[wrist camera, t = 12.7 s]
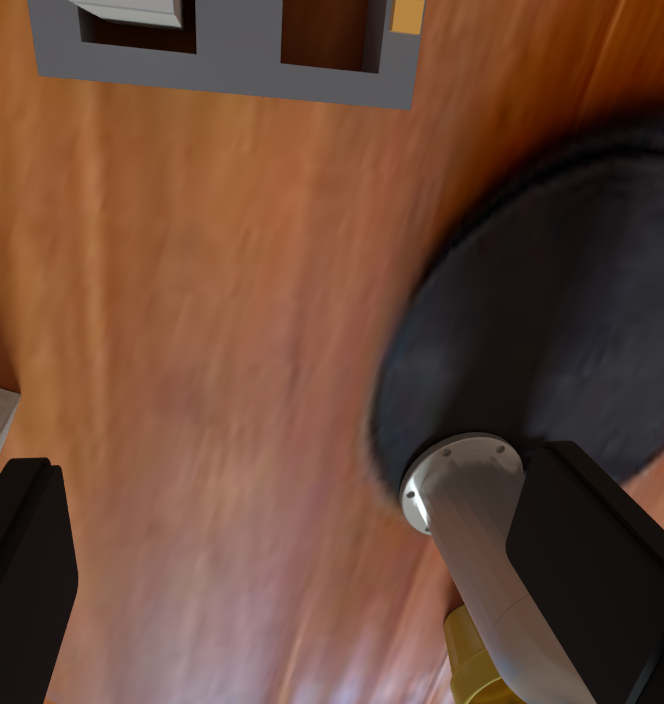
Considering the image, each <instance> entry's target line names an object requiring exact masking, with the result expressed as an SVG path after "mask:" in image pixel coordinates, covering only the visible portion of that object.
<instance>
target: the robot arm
mask: <svg viewBox="0 0 664 704" xmlns="http://www.w3.org/2000/svg"><path fill="white" fill-rule="evenodd" d="M399 501H400V505H401V509H402V511H403V513H404V515H405V518H406V519H407V521H408V522H409V523H410V524H411V525H412V526H413V527H414V528H415V529H417V530H418V531H420V532H422V533H424V534H428V535H432V537H433V539H434V541H435V543H436V545H437V548H438V550H439V552H440V554H441V556H442V558H443V560H444V562H445V564H446V566H447V568H448V570H449V572H450V574H451V576H452V579H453V581H454V583H455V585H456V587H457V589H458V591H459V593H460V595H461V597H462V599H463V601H464V603H465V605H466V608H467V610H468V612H469V614H470V616H471V618H472V620H473V622H474V624H475V626H476V628H477V630H478V632H479V634H480V636H481V639H482V641H483V643H484V645H485V647H486V649H487V651H488V653H489V655H490V657H491V659H492V661H493V663H494V665H495V667H496V669H497V671H498V673H499V674H500V676H501V678H502V679H503V680H504V682H505V683H506V684H507V685H508V687H509V688H510V689H511V690H512V691H513V692H514V693H515V694H516V695H517V696H519V697H520V698H521V699H522V700H524V701H525V702H526V703H528V704H664V529H663V528H662V527H661V526H660V525H658V524H657V523H656V522H655V521H654V520H653V519H652V518H651V517H650V516H649V515H648V514H647V513H646V512H645V511H644V510H643V509H642V508H641V507H640V506H639V505H638V504H637V503H636V502H635V501H634V500H633V499H632V498H631V497H630V496H629V495H628V494H627V493H626V492H625V491H624V490H623V489H622V488H621V487H620V486H619V485H618V484H617V483H616V482H615V481H614V480H613V479H612V478H611V477H610V476H609V475H608V474H607V473H606V472H605V471H603V470H602V469H601V468H600V467H599V466H598V465H597V464H596V463H595V462H594V461H593V460H592V459H591V458H590V457H589V456H588V455H587V454H586V453H585V452H584V451H583V450H582V449H581V448H580V447H579V446H578V445H577V444H576V443H574V442H573V441H547V442H543V443H542V444H541V445H540V448H539V449H536V450H535V451H534V453H533V455H532V458H531V462H530V465H529V468H528V471H527V475H526V477H525V475H524V474H523V465H522V462H521V459H520V456H519V455H518V454H517V452H516V451H515V449H514V448H513V447H512V446H511V445H510V444H509V443H508V442H507V441H506V440H504V439H502V438H501V437H499V436H496V435H493V434H490V433H483V432H471V433H464V434H459V435H455V436H452V437H450V438H447V439H444V440H442V441H440V442H439V443H437V444H435V445H433V446H431V447H430V448H429V449H427V450H426V451H425V452H423V453H422V454H421V455H420V456H419V457H418V458H417V459H416V460H415V461H414V462H413V464H412V465H411V466H410V468H409V469H408V470H407V472H406V474H405V476H404V478H403V480H402V483H401V487H400V492H399ZM77 588H78V569H77V563H76V557H75V550H74V544H73V538H72V531H71V525H70V519H69V512H68V506H67V499H66V493H65V487H64V480H63V474H62V469H61V467H60V466H59V465H53V466H51V463H50V461H49V459H48V458H46V457H45V458H14V459H10V460H9V461H8V462H7V464H6V465H5V467H4V468H3V470H2V472H1V473H0V704H43V702H44V699H45V696H46V692H47V689H48V686H49V683H50V679H51V676H52V673H53V670H54V666H55V663H56V660H57V656H58V653H59V650H60V647H61V643H62V640H63V637H64V634H65V630H66V627H67V624H68V620H69V617H70V614H71V611H72V607H73V604H74V601H75V598H76V594H77Z"/></svg>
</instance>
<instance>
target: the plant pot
mask: <svg viewBox="0 0 664 704" xmlns="http://www.w3.org/2000/svg"><path fill="white" fill-rule="evenodd" d="M444 635H445V640H446V645H447V650H448V655H449V661H450V666H451V671H452V678H451V682H450V688H451V692H452V695H453V698H454V701H455V703H456V704H528V703H526V702H525V701H524V700H522V699H521V698H520V697H519V696H517V695H516V694H515V693H514V692H513V691H512V690H511V689H510V688H509V687H508V685H507V684H506V683H505V682H504V680H503V679H502V678H501V676H500V674H499V673H498V671H497V669H496V667H495V665H494V663H493V661H492V659H491V657H490V655H489V653H488V651H487V649H486V647H485V645H484V643H483V641H482V639H481V636H480V634H479V632H478V630H477V628H476V626H475V624H474V622H473V620H472V618H471V616H470V614H469V612H468V610H467V608H466V605H465V604H464V605H461V606H460V607H458V608H456V609H455V610H454V611H452V612H451V613H450V614H449V616H448V617H447V618H446V620H445V623H444Z"/></svg>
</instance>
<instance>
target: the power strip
mask: <svg viewBox="0 0 664 704" xmlns="http://www.w3.org/2000/svg"><path fill="white" fill-rule="evenodd" d="M27 1H28V7H29V14H30V21H31V28H32V34H33V41H34V48H35V55H36V61H37V68H38V75H39V76H47V77H58V78H69V79H79V80H90V81H101V82H112V83H122V84H133V85H144V86H155V87H166V88H176V89H187V90H198V91H209V92H220V93H230V94H241V95H252V96H263V97H274V98H284V99H295V100H306V101H317V102H327V103H338V104H349V105H360V106H371V107H381V108H392V109H403V110H411V103H412V96H413V89H414V82H415V75H416V68H417V61H418V54H419V47H420V40H421V33H422V26H423V19H424V12H425V5H426V0H368V9H367V19H366V29H365V39H364V49H363V59H362V69H361V72H356V71H347V70H338V69H328V68H319V67H310V66H301V65H291V64H282V63H280V58H281V32H282V5H283V0H195V7H196V45H197V54H189V53H180V52H170V51H161V50H152V49H143V48H133V47H124V46H115V45H105V44H96V37H95V27H94V17H93V14H92V13H91V12H89V11H87V10H85V9H83V8H81V7H80V6H78V5H76V4H74V3H72V2H70V1H69V0H27Z"/></svg>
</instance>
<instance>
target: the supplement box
mask: <svg viewBox="0 0 664 704" xmlns="http://www.w3.org/2000/svg"><path fill="white" fill-rule="evenodd" d="M20 398H21V394H18V393H15V392H11V391H8V390H4V389H1V388H0V452H1V449H2V447H3V444H4V441H5V439H6V436H7V433H8V431H9V428H10V425H11V423H12V420H13V417H14V414H15V412H16V409H17V406H18V404H19V401H20Z"/></svg>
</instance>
